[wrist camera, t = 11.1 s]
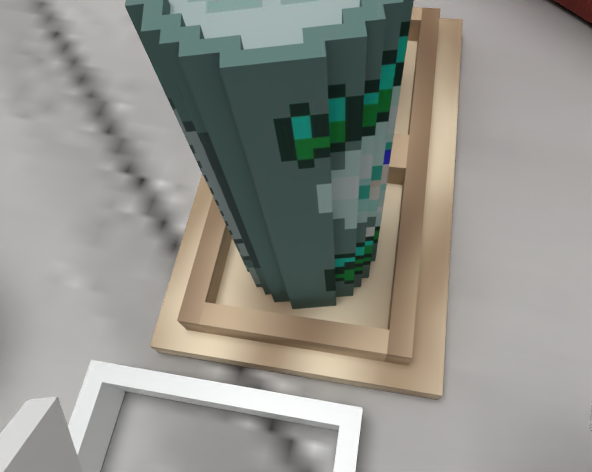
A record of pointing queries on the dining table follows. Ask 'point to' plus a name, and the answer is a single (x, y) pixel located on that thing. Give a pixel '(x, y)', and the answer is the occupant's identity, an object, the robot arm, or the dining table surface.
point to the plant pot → (579, 7)
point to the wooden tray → (374, 290)
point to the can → (287, 126)
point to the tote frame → (119, 379)
